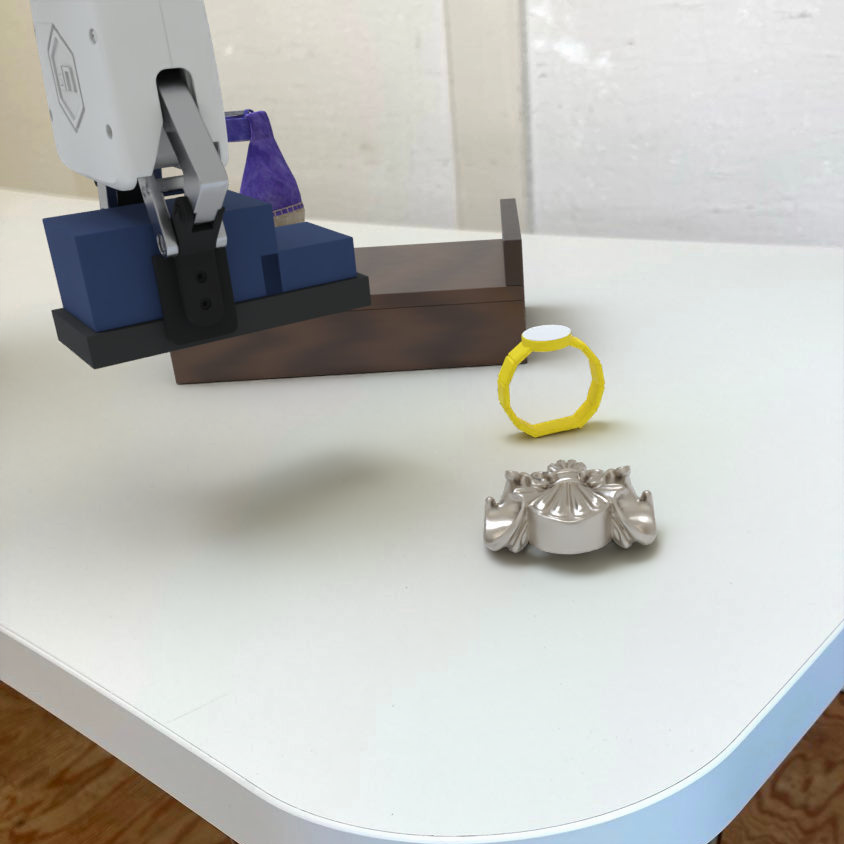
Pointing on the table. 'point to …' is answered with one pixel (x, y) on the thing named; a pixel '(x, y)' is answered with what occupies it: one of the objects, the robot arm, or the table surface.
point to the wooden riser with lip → (392, 317)
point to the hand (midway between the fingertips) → (178, 318)
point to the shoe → (137, 289)
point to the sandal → (265, 166)
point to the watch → (546, 341)
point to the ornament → (569, 510)
